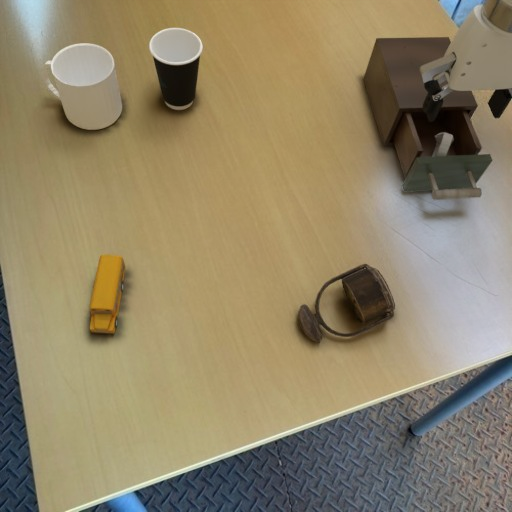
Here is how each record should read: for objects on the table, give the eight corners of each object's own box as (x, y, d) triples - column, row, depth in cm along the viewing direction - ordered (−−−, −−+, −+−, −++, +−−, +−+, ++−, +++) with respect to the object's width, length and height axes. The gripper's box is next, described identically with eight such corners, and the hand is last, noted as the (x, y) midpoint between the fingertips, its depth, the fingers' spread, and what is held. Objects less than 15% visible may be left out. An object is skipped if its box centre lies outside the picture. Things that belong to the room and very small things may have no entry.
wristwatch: (446, 151, 87) (459, 130, 83) (440, 174, 85) (453, 153, 81) (429, 145, 88) (441, 124, 83) (422, 168, 85) (434, 146, 81)
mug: (133, 101, 90) (125, 56, 82) (102, 138, 86) (92, 94, 78) (70, 76, 92) (57, 29, 84) (38, 111, 87) (20, 65, 79)
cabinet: (455, 143, 91) (478, 105, 84) (383, 146, 90) (399, 108, 82) (430, 76, 99) (448, 36, 91) (363, 78, 97) (376, 37, 90)
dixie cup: (212, 95, 92) (212, 41, 83) (184, 124, 89) (182, 71, 79) (173, 75, 94) (169, 20, 84) (145, 103, 90) (138, 48, 80)
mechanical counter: (412, 334, 68) (403, 257, 70) (312, 335, 65) (308, 255, 68) (388, 342, 74) (381, 271, 77) (297, 343, 72) (293, 270, 75)
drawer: (482, 211, 84) (503, 185, 78) (411, 216, 82) (427, 189, 76) (446, 118, 93) (463, 88, 87) (382, 121, 91) (394, 90, 85)
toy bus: (90, 334, 70) (84, 322, 67) (103, 267, 75) (99, 253, 71) (115, 336, 70) (111, 324, 67) (127, 268, 75) (123, 255, 72)
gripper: (575, -16, 65) (509, 90, 80) (437, -13, 64) (396, 95, 79) (601, 26, 62) (527, 129, 77) (456, 31, 60) (409, 136, 75)
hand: (460, 112), depth 78 cm, fingers open, 9 cm apart
